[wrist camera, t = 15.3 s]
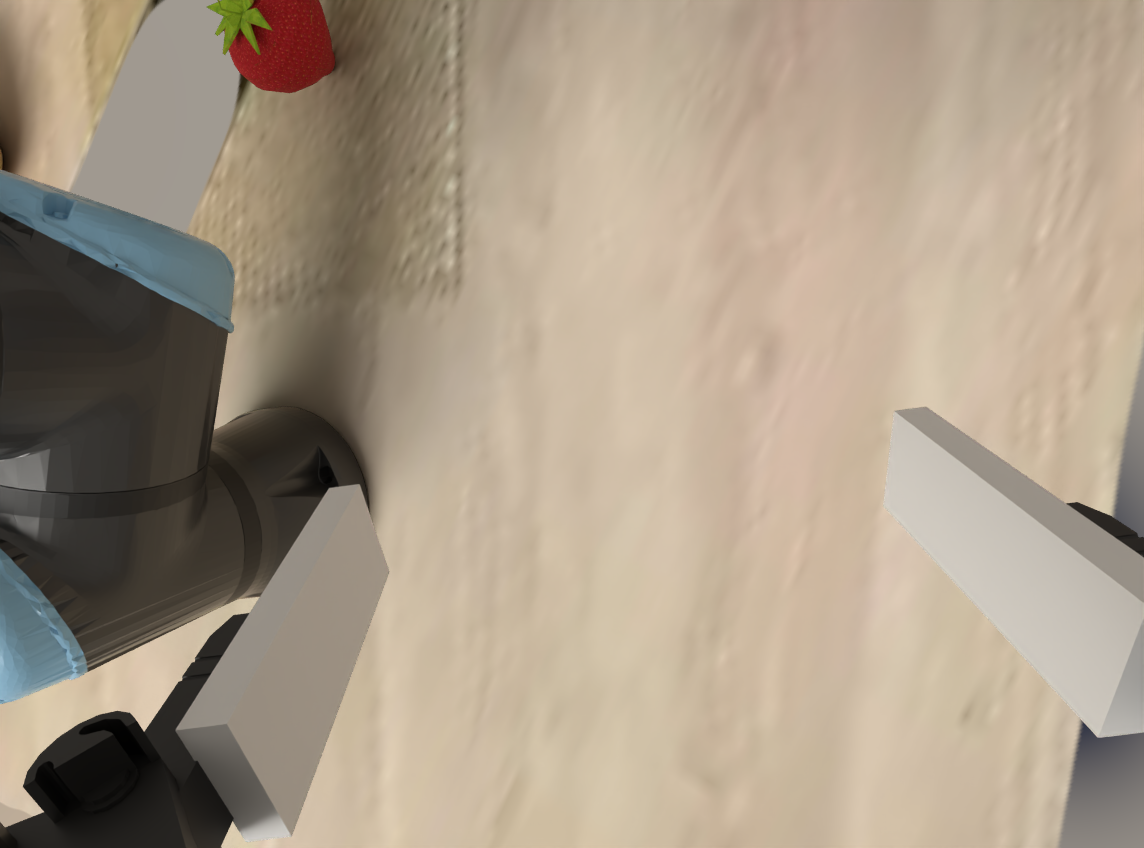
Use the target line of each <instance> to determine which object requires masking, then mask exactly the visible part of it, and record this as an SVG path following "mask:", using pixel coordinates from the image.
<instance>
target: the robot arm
mask: <svg viewBox="0 0 1144 848" xmlns="http://www.w3.org/2000/svg"><path fill="white" fill-rule="evenodd" d="M234 282H235V276H234V270H233V267H232V264H231V262H230V261H229V259H228V258H227V257H226V255H225V254H224V253H223V252H222V251H221V250H220V249H219V248H217V247H216V246H214V245H213V244H211V243H209V242H207V241H204V240H202V239H199V238H197V237H194V236H192V235H189V234H187V233H183V232H181V231H179V230H175V229H173V228H170V227H168V226H165V225H162V224H159V223H156V222H154V221H151V220H148V219H145V218H142V217H139V216H137V215H133V214H131V213H128V212H125V211H122V210H120V209H116V208H114V207H111V206H108V205H105V204H102V203H99V202H96V201H93V200H90V199H87V198H84V197H82V196H79V195H76V194H73V193H70V192H67V191H64V190H61V189H58V188H55V187H52V186H49V185H46V184H43V183H40V182H37V181H34V180H31V179H28V178H25V177H22V176H19V175H16V174H13V173H10V172H7V171H4V170H0V704H3V703H7V702H11V701H15V700H17V699H20V698H22V697H25V696H27V695H30V694H32V693H35V692H37V691H40V690H42V689H44V688H47V687H49V686H52V685H54V684H57V683H59V682H62V681H64V680H67V679H70V680H72V679H75V678H78V677H80V676H81V675H84V673H86V672H89V671H91V670H93V669H95V668H97V667H99V666H101V665H103V664H105V663H107V662H109V661H111V660H113V659H115V658H117V657H119V656H121V655H123V654H125V653H127V652H129V651H132V650H134V649H136V648H138V647H140V646H142V645H144V644H146V643H148V642H150V641H152V640H154V639H156V638H158V637H160V636H162V635H164V634H166V633H168V632H170V631H173V630H175V629H177V628H179V627H181V626H183V625H185V624H187V623H189V622H191V621H193V620H195V619H197V618H199V617H201V616H203V615H205V614H207V613H209V612H211V611H213V610H216V609H218V608H220V607H222V606H224V605H226V604H228V603H231V602H233V601H235V600H237V599H244V598H253V597H260V598H259V599H258V601H257V602H256V604H255V606H254V607H253V609H252V610H251V612H250V613H246V614H239V615H233V616H232V617H231V618H230V619H229V620H228V621H226V622H225V623H224V624H223V625H222V626H221V627H220V628H219V629H217V630H216V631H215V632H214V633H213V634H212V635H211V636H210V637H209V638H208V640H207V641H206V643H205V644H204V646H203V647H202V649H201V650H200V652H199V653H198V654H197V656H196V657H195V662H193V663H191V665H190V666H189V668H188V669H187V671H186V672H185V673H184V675H183V676H182V678H183V679H182V681H180V682H178V684H177V685H176V687H175V688H174V689H173V691H172V692H171V694H170V695H169V697H168V698H167V700H166V701H165V703H164V704H163V706H162V707H161V708H160V710H159V711H158V713H157V714H156V716H155V717H154V719H153V720H152V722H151V723H150V724H149V726H148V727H147V729H146V730H145V732H144V731H143V730H142V728H141V727H140V725H139V724H138V722H137V721H136V719H135V718H134V717H133V716H132V715H131V713H127V712H121V711H115V712H110V713H105V714H101V715H98V716H95V717H93V718H91V719H89V720H87V721H84V722H82V723H80V724H78V725H77V726H75V727H74V728H72V729H71V730H69V731H68V732H66V733H64V734H63V735H61V736H60V737H58V738H57V739H56V740H55V741H54V742H53V743H52V744H51V745H50V746H49V747H47V748H46V749H45V750H44V751H43V752H42V753H41V754H40V755H39V756H38V758H37V759H36V760H35V762H34V763H33V765H32V766H31V767H30V769H29V770H28V772H27V775H26V778H25V781H24V785H23V787H24V789H25V790H26V791H27V792H28V793H29V795H30V796H31V797H32V798H33V799H34V800H35V802H36V803H37V804H38V805H39V806H40V807H41V809H42V810H43V811H44V812H43V813H41V814H38V815H36V816H33V817H31V818H28V819H26V820H23V821H21V822H18V823H16V824H13V825H11V826H8V827H4V826H3V825H2V824H1V823H0V848H221V845H222V843H223V840H224V838H225V836H226V834H227V832H228V830H229V828H230V825H231V823H232V821H233V822H234V824H235V825H236V827H237V829H238V830H239V832H240V833H241V835H242V837H243V838H244V840H245V841H246V842H251V841H260V840H268V839H276V838H284V837H292V834H293V831H294V829H295V826H296V823H297V820H298V818H299V815H300V812H301V810H302V807H303V804H304V802H305V799H306V796H307V793H308V791H309V788H310V785H311V783H312V780H313V777H314V774H315V772H316V769H317V766H318V764H319V761H320V758H321V756H322V753H323V750H324V747H325V745H326V742H327V739H328V737H329V734H330V731H331V729H332V726H333V723H334V720H335V718H336V715H337V712H338V710H339V707H340V704H341V701H342V699H343V696H344V693H345V691H346V688H347V685H348V683H349V680H350V677H351V674H352V672H353V669H354V666H355V664H356V661H357V658H358V655H359V653H360V650H361V647H362V645H363V642H364V639H365V637H366V634H367V631H368V628H369V626H370V623H371V620H372V618H373V615H374V612H375V609H376V607H377V604H378V601H379V599H380V596H381V593H382V591H383V588H384V585H385V582H386V580H387V577H388V574H389V569H388V566H387V563H386V560H385V557H384V554H383V551H382V549H381V546H380V543H379V540H378V537H377V534H376V531H375V528H374V525H373V522H372V519H371V516H370V513H369V510H368V501H367V493H366V487H365V483H364V479H363V476H362V473H361V470H360V467H359V465H358V463H357V460H356V459H355V457H354V455H353V453H352V451H351V449H350V448H349V446H348V445H347V443H346V442H345V441H344V439H343V438H342V437H341V436H340V435H339V433H338V432H337V431H336V430H335V429H334V428H333V427H331V426H330V425H329V424H328V423H327V422H325V421H324V420H323V419H321V418H320V417H318V416H316V415H314V414H312V413H310V412H308V411H305V410H302V409H298V408H293V407H276V408H268V409H261V410H255V411H251V412H248V413H245V414H242V415H240V416H238V417H236V418H235V419H233V420H232V421H230V422H229V423H227V424H226V425H224V426H222V427H220V428H218V429H215V430H214V423H215V417H216V410H217V404H218V397H219V390H220V384H221V377H222V370H223V364H224V357H225V350H226V344H227V337H228V333H232V332H233V331H234V325H233V323H232V322H231V311H232V302H233V292H234ZM883 506H884V508H885V509H886V510H887V511H888V512H889V513H890V514H891V515H892V516H893V517H894V518H895V519H896V520H897V522H898V523H899V524H900V525H901V526H902V527H903V528H904V529H905V530H906V531H907V532H908V533H909V534H910V536H911V537H912V538H913V539H914V540H915V541H916V542H917V543H918V544H919V545H920V546H921V547H922V549H923V550H924V551H925V552H926V553H927V554H928V555H929V556H930V557H931V558H932V559H933V560H934V561H935V563H936V564H937V565H938V566H939V567H940V568H941V569H942V570H943V571H944V572H945V573H946V574H947V575H948V577H949V578H950V579H951V580H952V581H953V582H954V583H955V584H956V585H957V586H958V587H959V588H960V589H961V591H962V592H963V593H964V594H965V595H966V596H967V597H968V598H969V599H970V600H971V601H972V602H973V603H974V605H975V606H976V607H977V608H978V609H979V610H980V611H981V612H982V613H983V614H984V615H985V616H986V617H987V619H988V620H989V621H990V622H991V623H992V624H993V625H994V626H995V627H996V628H997V629H998V630H999V631H1000V633H1001V634H1002V635H1003V636H1004V637H1005V638H1006V639H1007V640H1008V641H1009V642H1010V643H1011V644H1012V645H1013V647H1014V648H1015V649H1016V650H1017V651H1018V652H1019V653H1020V654H1021V655H1022V656H1023V657H1024V658H1025V659H1026V661H1027V662H1028V663H1029V664H1030V665H1031V666H1032V667H1033V668H1034V669H1035V670H1036V671H1037V672H1038V673H1039V675H1040V676H1041V677H1042V678H1043V679H1044V680H1045V681H1046V682H1047V683H1048V684H1049V685H1050V686H1051V687H1052V689H1053V690H1054V691H1055V692H1056V693H1057V694H1058V695H1059V696H1060V697H1061V698H1062V699H1063V700H1064V701H1065V703H1066V704H1067V705H1068V706H1069V707H1070V708H1071V709H1072V710H1073V711H1074V712H1075V713H1076V714H1077V716H1078V717H1079V718H1080V719H1081V720H1082V721H1083V722H1084V723H1085V724H1086V725H1087V726H1088V727H1089V728H1090V730H1091V731H1093V733H1094V734H1095V735H1096V736H1097V737H1098V738H1100V737H1108V736H1116V735H1124V734H1132V733H1141V732H1144V538H1143V537H1141V538H1139V537H1138V535H1137V533H1136V532H1134V531H1133V530H1131V529H1130V528H1128V527H1127V526H1125V525H1124V524H1122V523H1121V522H1119V521H1118V520H1116V519H1115V518H1113V517H1112V516H1110V515H1107V514H1105V513H1102V512H1100V511H1097V510H1095V509H1093V508H1090V507H1088V506H1085V505H1083V504H1080V503H1078V502H1075V503H1067V504H1066V503H1064V502H1063V501H1061V500H1060V499H1059V498H1057V497H1056V496H1054V495H1053V494H1051V493H1050V492H1048V491H1047V490H1046V489H1044V488H1043V487H1041V486H1040V485H1038V484H1037V483H1036V482H1034V481H1033V480H1031V479H1030V478H1028V477H1027V476H1025V475H1024V474H1023V473H1021V472H1020V471H1018V470H1017V469H1015V468H1014V467H1012V466H1011V465H1010V464H1008V463H1007V462H1005V461H1004V460H1002V459H1001V458H999V457H998V456H997V455H995V454H994V453H992V452H991V451H989V450H988V449H986V448H985V447H984V446H982V445H981V444H979V443H978V442H976V441H975V440H973V439H972V438H971V437H969V436H968V435H966V434H965V433H963V432H962V431H960V430H959V429H958V428H956V427H955V426H953V425H952V424H950V423H949V422H947V421H946V420H945V419H943V418H942V417H940V416H939V415H937V414H936V413H934V412H933V411H932V410H930V409H929V408H927V407H920V408H912V409H905V410H898V411H894V416H893V425H892V434H891V442H890V451H889V460H888V469H887V478H886V486H885V495H884V504H883Z"/></svg>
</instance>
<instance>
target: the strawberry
mask: <svg viewBox="0 0 1144 848" xmlns="http://www.w3.org/2000/svg"><path fill="white" fill-rule="evenodd" d="M207 8H209V9H211V10H213V11H215V12H216V13H218V14H220V15H222V16H224V17H223V19H222V21H221V24H220V25H219V27H218V29H217V31H216V33H215V34H216V35H217V36H218V35H219V34H220V33H221V32H222V31H225V37H224V47H223V54H224V55H225V54H226V53H227V51H228V49H229V52H230V55H231V57H232V60H233V62H234V65H235V66H236V68H237V69H238V71H239V72H240V73H241V74H242V75H243V76H244V77H245V78H247V79H248V80H249V81H250V82H251V83H253V84H254V85H255V86H256V87H258V88H260V89H262V90H267V91H276V92H284V93H292V92H296V91H299V90H301V89H303V88H306V87H308V86H310V85H313V84H314V83H316V82H317V81H319V80H320V79H321V78H322V77H324V76H326V75H328V74H330V73H331V72H332V70H333V69H334V66H335V57H334V53H333V51H332V45H331V37H330V33H329V29H328V26H327V23H326V19H325V16H324V13H323V9H322V6H321V4H320V2H319V0H222V1H219V0H218V2H217V3H215V4H212V5H210V6H207Z"/></svg>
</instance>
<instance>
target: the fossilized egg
mask: <svg viewBox="0 0 1144 848" xmlns="http://www.w3.org/2000/svg"><path fill="white" fill-rule="evenodd" d="M2 165H3V159H2V152H1V148H0V170H2Z"/></svg>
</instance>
